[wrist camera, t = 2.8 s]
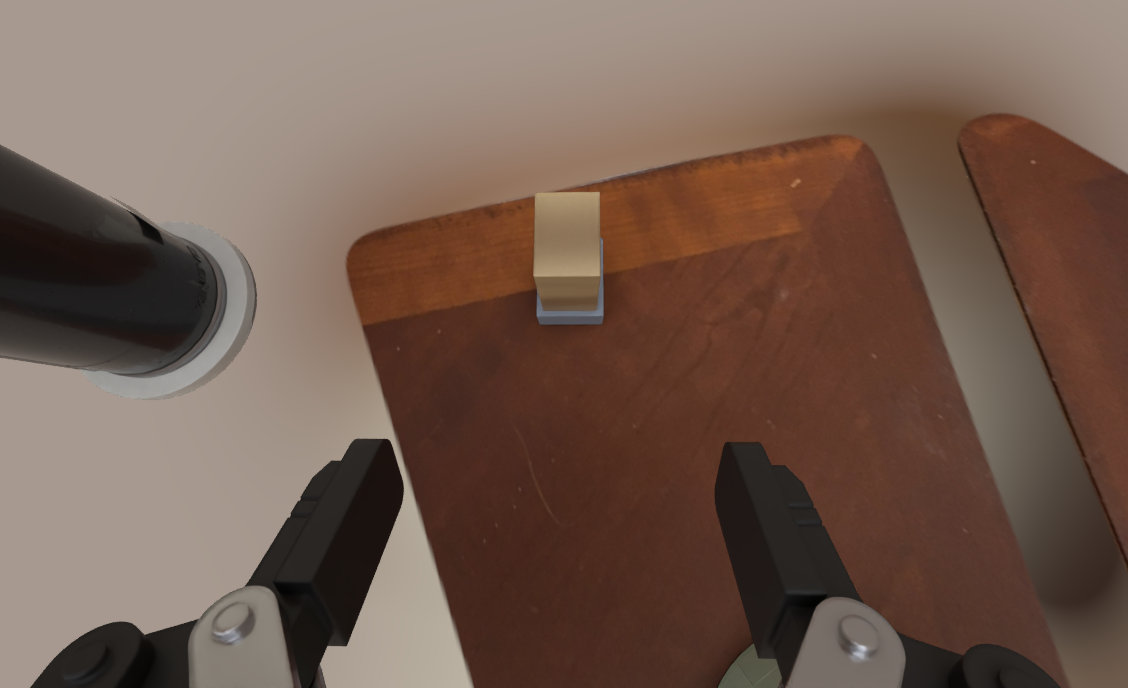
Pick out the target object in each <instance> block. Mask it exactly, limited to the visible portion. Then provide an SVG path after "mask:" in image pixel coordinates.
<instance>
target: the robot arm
mask: <svg viewBox="0 0 1128 688" xmlns="http://www.w3.org/2000/svg"><path fill="white" fill-rule="evenodd" d="M113 199H114V198H113ZM115 200H116V201H118V202H119V203H121V204H122V205H123V206H125V207H126V208H128V209H129V210H131V211H132V212H133V213H132V212H130V211H128V210H126V209H124V208H122V207H120V206H118V205H116V204H114V203H112V202H110V201H108V200H107V199H105V198H103V197H101V196H99V195H97V194H95V193H93V192H91V191H89V190H87V189H85V188H83V187H81V186H79V185H78V184H76V183H74V182H72V181H70V180H68V179H66V178H64V177H62V176H60V175H58V174H56V173H54V172H52V171H50V170H48V169H46V168H45V167H43V166H41V165H39V164H37V163H35V162H33V161H31V160H29V159H27V158H25V157H23V156H21V155H19V154H17V153H15V152H14V151H11V150H10V149H7V148H6V147H4V146H2V145H0V358H7V359H13V360H20V361H26V362H33V363H39V364H46V365H53V366H59V367H66V368H73V369H79V370H86V371H93V372H96V371H105V372H109V373H112V374H116V375H120V376H126V377H133V378H151V377H157V376H161V375H165V374H167V373H170V372H173V371H175V370H177V369H179V368H181V367H183V366H184V365H186V364H187V363H189V362H190V361H192V360H193V359H194V358H195V357H197V356H198V355H199V354H200V353H201V352H202V351H203V350H204V349H205V348H206V347H207V345H208V344H209V343H210V342H211V340H212V339H213V337H214V336H215V334H216V333H217V331H218V329H219V327H220V325H221V322H222V320H223V317H224V313H225V309H226V303H227V287H226V281H225V277H224V274H223V272H222V269H221V267H220V266H219V264H218V262H217V261H216V260H215V258H214V257H213V256H212V255H211V254H210V253H209V252H208V251H206V250H205V249H204V248H202V247H200V246H199V245H197V244H195V243H193V242H191V241H189V240H187V239H184V238H181V237H178V236H176V235H174V234H172V233H170V232H168V231H166V230H164V229H162V228H161V227H159V226H158V225H156V224H155V223H153V222H152V221H151V220H149V219H148V218H146V217H145V216H144V215H142V214H141V213H139V212H138V211H136V210H135V209H133V208H132V207H130V206H128V205H126V204H124V203H122V202H121V201H119V200H117V199H115ZM134 213H135V214H134ZM403 492H404V486H403V480H402V476H401V474H400V470H399V467H398V464H397V460H396V457H395V454H394V450H393V447H392V444H391V442H390V441H389V440H388V439H355V440H354V441H353V442H352V443H351V444H350V446H349V448H348V449H347V451H346V453H345V455H344V457H343V458H342V460H341V461H331V462H330V463H329V464H327V465H326V466H325V467H324V468H323V469H322V470H321V471H319V472H318V473H317V474H316V475H315V476H314V477H313V478H312V479H311V481H310V483H309V484H308V486H307V487H306V489H305V491H304V492H303V494H302V496H301V500H300V501H298V502H297V504H296V505H295V507H294V509H293V510H292V512H291V516H290V518H287V520H286V522H285V523H284V525H283V526H282V528H281V530H280V531H279V533H278V535H277V536H276V538H275V540H274V541H273V543H272V545H271V546H270V548H269V549H268V551H267V553H266V554H265V556H264V557H263V559H262V561H261V562H260V564H259V565H258V567H257V569H256V570H255V572H254V573H253V575H252V577H251V579H250V580H249V582H248V583H247V584H246V585H245V587H243V588H240V589H237V590H235V591H233V592H230V593H229V594H227V595H225V596H223V597H222V598H221V599H219V600H218V601H216V602H215V603H214V604H213V605H212V606H210V608H208V609H207V610H206V611H205V612H204V614H203V615H202V616H201V617H200V619H197V620H194V621H191V622H187V623H184V624H180V625H177V626H174V627H170V628H166V629H163V630H160V631H156V632H153V633H149V634H146V635H144V634H143V633H142V632H141V631H140V630H139V629H138V628H137V627H136V626H135V625H133V624H132V623H128V622H113V623H109V624H106V625H103V626H100V627H98V628H95V629H94V630H91V631H90V632H88V633H86V634H84V635H82V636H81V637H79V638H78V639H76V640H75V641H74V642H72V643H71V644H70V645H68V646H67V647H66V648H65V649H63V650H62V651H61V652H60V653H59V654H58V655H57V656H56V657H55V658H54V659H53V660H52V661H51V663H50V664H49V665H48V666H47V667H46V669H45V670H44V671H43V672H42V674H41V675H40V676H39V677H38V679H37V680H36V681H35V682H34V684H33V685H32V686H31V687H30V688H326V685H325V681H324V677H323V673H322V669H321V666H320V662H321V659H322V657H323V655H324V653H325V650H326V648H327V646H347V644H348V642H349V639H350V637H351V634H352V631H353V629H354V626H355V624H356V621H357V619H358V616H359V613H360V611H361V608H362V606H363V603H364V600H365V598H366V595H367V593H368V590H369V587H370V585H371V582H372V580H373V577H374V575H375V572H376V570H377V567H378V564H379V562H380V559H381V557H382V554H383V552H384V549H385V547H386V544H387V541H388V539H389V536H390V534H391V531H392V529H393V526H394V523H395V521H396V518H397V516H398V513H399V510H400V508H401V505H402V501H403ZM715 505H716V511H717V515H718V518H719V522H720V525H721V529H722V532H723V536H724V539H725V543H726V546H727V550H728V554H729V557H730V561H731V564H732V568H733V571H734V575H735V578H736V582H737V585H738V589H739V593H740V596H741V600H742V603H743V607H744V610H745V614H746V617H747V621H748V624H749V628H750V632H751V635H752V639H753V642H754V646H755V649H756V653H757V656H758V659H776V661H777V664H778V667H779V671H780V674H781V677H782V679H781V681H780V683H779V685H778V688H1061V687H1060V686H1059V685H1058V684H1057V683H1056V682H1055V681H1054V680H1053V679H1052V678H1051V677H1050V676H1049V675H1048V674H1047V673H1046V672H1045V671H1044V670H1042V669H1041V668H1040V667H1038V666H1037V665H1036V664H1035V663H1033V662H1032V661H1030V660H1029V659H1027V658H1026V657H1024V656H1022V655H1020V654H1018V653H1016V652H1014V651H1012V650H1010V649H1007V648H1004V647H1001V646H998V645H992V644H980V645H975V646H973V647H971V648H970V649H969V650H968V651H967V652H966V653H965V654H964V655H960V654H957V653H954V652H951V651H948V650H945V649H942V648H939V647H936V646H933V645H930V644H927V643H924V642H921V641H918V640H915V639H912V638H909V637H907V636H905V635H903V634H901V633H899V632H897V631H895V630H894V629H893V627H892V626H891V625H890V624H889V623H888V621H887V620H885V619H884V618H883V617H882V616H881V615H880V614H879V613H878V612H876V611H875V610H874V609H872V608H870V607H869V606H867V605H865V604H864V603H863V601H862V600H861V598H860V597H859V595H858V593H857V591H856V589H855V587H854V585H853V583H852V581H851V579H850V577H849V575H848V573H847V571H846V569H845V567H844V565H843V563H842V561H841V559H840V557H839V555H838V553H837V551H836V549H835V547H834V545H833V543H832V541H831V539H830V537H829V535H828V533H827V531H826V529H825V527H824V526H822V521H821V519H820V517H819V515H818V512H817V510H816V509H814V507H813V502H812V500H811V498H810V496H809V494H808V492H807V490H806V488H805V486H804V484H803V483H802V482H801V481H800V480H799V479H798V478H797V477H796V476H795V475H794V474H793V473H792V472H791V471H790V470H789V469H788V468H787V467H786V466H785V465H771V463H770V461H769V459H768V457H767V454H766V452H765V450H764V448H763V446H762V444H761V443H759V442H726V443H725V445H724V447H723V452H722V456H721V461H720V465H719V470H718V475H717V479H716V484H715Z"/></svg>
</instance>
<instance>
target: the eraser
mask: <svg viewBox="0 0 1128 688" xmlns="http://www.w3.org/2000/svg"><path fill="white" fill-rule="evenodd" d="M533 276H534V280H535V283H536V287H537V318H538V321H539V324H540V325H553V324H602V322H603V316H604V303H603V238H600V193H599V192H557V193H535V221H534V267H533Z"/></svg>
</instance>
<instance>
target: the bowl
mask: <svg viewBox="0 0 1128 688" xmlns="http://www.w3.org/2000/svg"><path fill="white" fill-rule="evenodd" d="M781 679H782V677H781V674H780V671H779V667H778V664H777V661H776V659H758V656H757V653H756V649H755V646H754V643H753V644H752V645H751V646H750V647H748V648H747V649H746V650H745V651H744V652H742V653H741V655H740V656H739V657H738V658H737V659H736V660H735V661H734V662H733V664H732V665H731V666H730V668H729V669H728V671H727V672H726V674H725V675H724V677H723V678H722V680H721V682H720V684H719V686H718V688H778V685H779V683H780V681H781Z"/></svg>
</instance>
